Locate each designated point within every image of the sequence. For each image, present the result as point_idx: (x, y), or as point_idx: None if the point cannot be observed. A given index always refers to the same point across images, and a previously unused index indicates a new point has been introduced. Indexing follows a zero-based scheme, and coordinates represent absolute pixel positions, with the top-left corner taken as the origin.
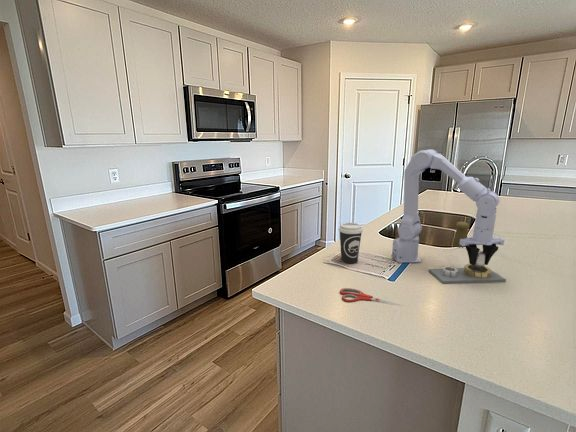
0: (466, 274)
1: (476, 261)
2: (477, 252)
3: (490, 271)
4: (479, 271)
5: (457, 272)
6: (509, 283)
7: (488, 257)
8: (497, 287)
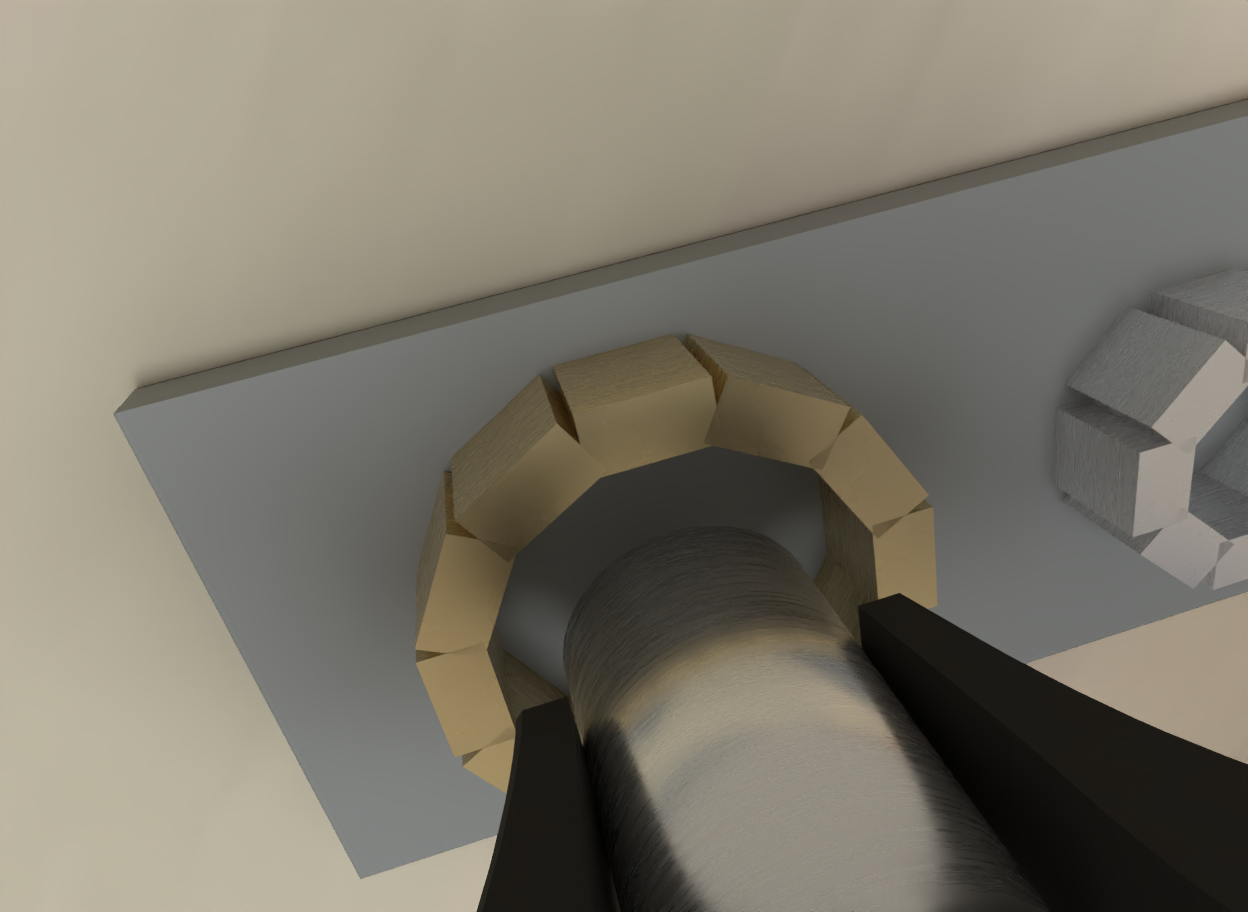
0: None
1: (882, 684)
2: (1244, 888)
3: (461, 533)
4: None
5: (1166, 369)
6: (57, 333)
7: (582, 882)
8: (409, 50)
